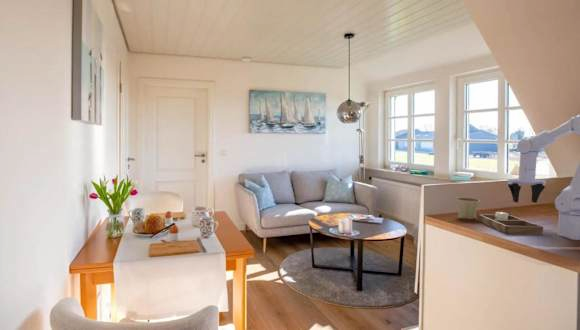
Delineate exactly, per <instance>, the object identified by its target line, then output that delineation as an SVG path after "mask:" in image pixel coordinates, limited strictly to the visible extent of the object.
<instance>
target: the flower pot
mask: <svg viewBox="0 0 580 330" xmlns="http://www.w3.org/2000/svg"><path fill="white" fill-rule="evenodd" d="M455 198H456V203H457V210H458V211H457V212H458V218H459V219H469V220H473V219H476V218H475V217H476V213H477V210H478V206H479V203H480V202H481V200H480V199H477V198H471V197H455Z"/></svg>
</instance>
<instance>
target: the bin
mask: <svg viewBox="0 0 580 330" xmlns="http://www.w3.org/2000/svg"><path fill="white" fill-rule="evenodd" d="M495 215H496V214H488V213H487V214H483V213H482V214H481V213H478V214H477V222H479V223H481V224H483V225H486V226H488V227H490V228H492V229H495V230H497V231H499V232H501V233H504V234H506V235H543V234H544V226H541V225H539V224H536V223H533V222H530V221H528V220H525V219H522V218H519V217H517V216H515V215H512V214H508V220H495Z"/></svg>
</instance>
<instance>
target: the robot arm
mask: <svg viewBox="0 0 580 330" xmlns="http://www.w3.org/2000/svg"><path fill="white" fill-rule="evenodd" d="M574 132H575V133H576V134H577V135H579V136H580V114H577V116H574V117H571V118H570V119H569V120H568V121H566V122H564V123H562V124H561V125H558V126H557V127H555V128H554V129H552V130H547V129H545V130H544V129H543V130H540V131H539V133H537V134H535V135H530V137H529V138H522V139H520V140H519V141H518V143H517V145H516V146H517V147H516V148H517V151H518V152H519V166H518V167H519V168H518V178H507V180H506V181H507V182H506V183H507V185H508V188H509V190H510V193H511V195H512V201H513V202H514V203H518V202H519V200H520V193H521V192H520V191H521V189H522V186H521V185H530V187H531V203H535V204H537V203H538V200H539V197H540V195H541V193H542V192H543V191H544V189H545V188H546V182H547V181H546V179H545V180H544V179H536V172H537V160H538V157H539V154H540V152H541V150H542V149H545V148H546V147H549V146H551V145H554V144H555V142H556V139H559V138H562V137H564V136H566V135H568V134H572V133H574ZM554 207H555V208H556V210H557V212H558V226H557V235H558V236H560V237H565V238H567V239H570V240H574V241H578V240H579V241H580V162H579V163H578V166H577V167H576V170H575V173H574V175H573V176H572V179H571V181H570V184H569V185H567V187H565V188H563V190H562V191H561V192H560V194H559V195H558V196H557V197H556V198H555V200H554Z"/></svg>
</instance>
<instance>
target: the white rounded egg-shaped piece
mask: <svg viewBox="0 0 580 330" xmlns="http://www.w3.org/2000/svg"><path fill="white" fill-rule="evenodd" d="M494 215H495V220H508V215H509V213H507V212H504V211H495V214H494Z"/></svg>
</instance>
